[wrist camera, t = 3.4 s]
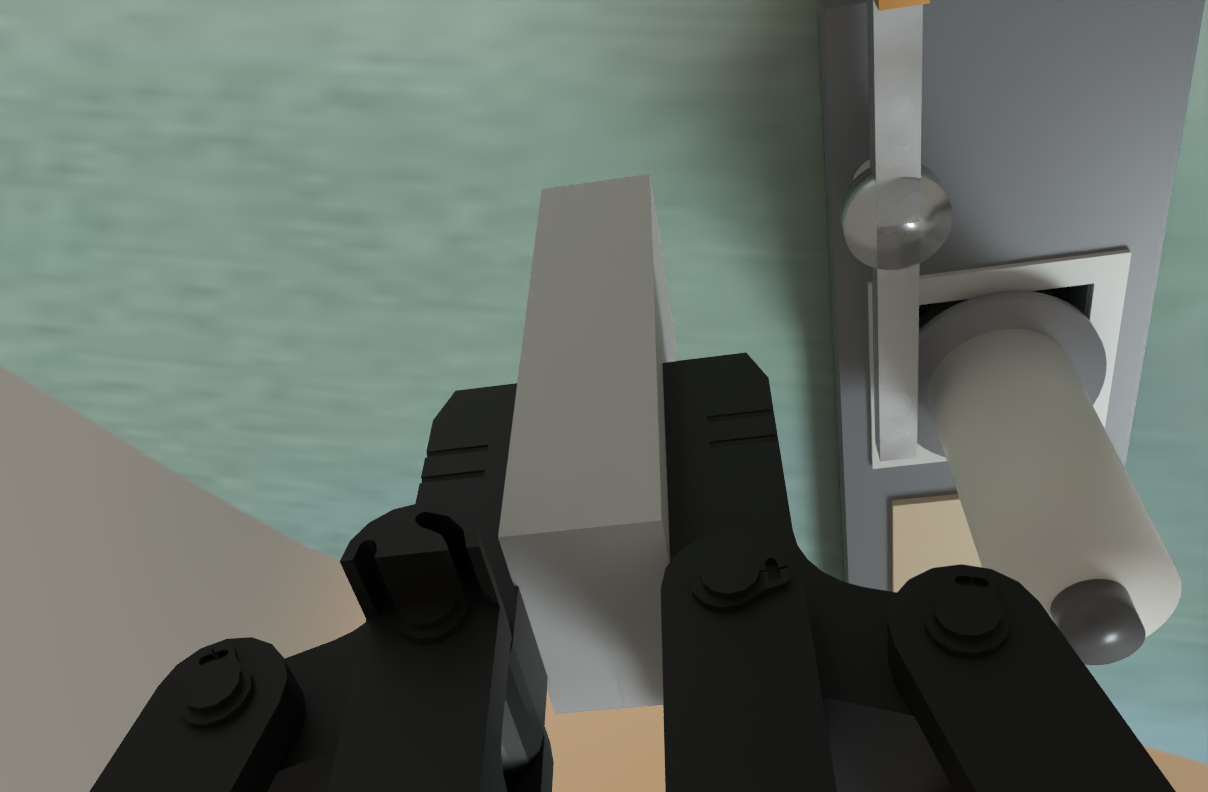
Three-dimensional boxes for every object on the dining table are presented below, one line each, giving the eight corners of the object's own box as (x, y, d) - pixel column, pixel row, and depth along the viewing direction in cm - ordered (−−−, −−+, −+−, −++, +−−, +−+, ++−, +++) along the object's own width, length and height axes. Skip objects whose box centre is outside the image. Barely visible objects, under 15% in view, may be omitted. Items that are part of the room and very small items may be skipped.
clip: (949, -236, 26) (976, -213, 24) (933, 419, 38) (950, 471, 36) (818, -212, 26) (834, -188, 24) (844, 429, 38) (856, 481, 36)
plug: (1090, 240, 36) (1272, 535, 26) (1070, 400, 40) (1220, 708, 30) (878, 268, 37) (973, 564, 27) (880, 422, 41) (963, 729, 31)
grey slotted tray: (1189, -71, 30) (1234, -36, 28) (1088, 574, 46) (1112, 629, 44) (816, -12, 31) (830, 26, 29) (844, 596, 47) (855, 651, 45)
